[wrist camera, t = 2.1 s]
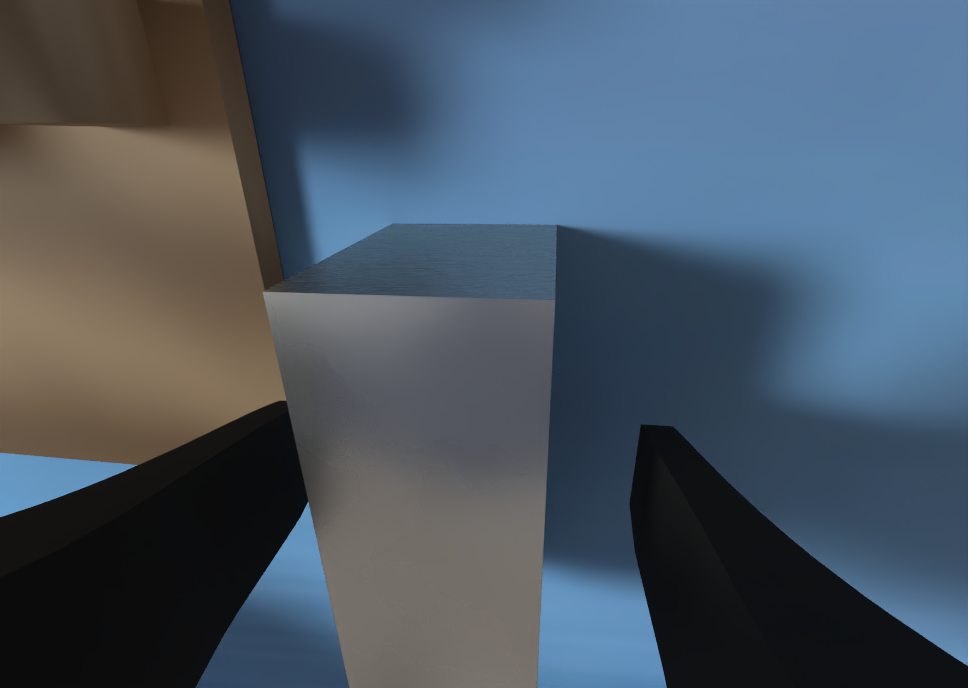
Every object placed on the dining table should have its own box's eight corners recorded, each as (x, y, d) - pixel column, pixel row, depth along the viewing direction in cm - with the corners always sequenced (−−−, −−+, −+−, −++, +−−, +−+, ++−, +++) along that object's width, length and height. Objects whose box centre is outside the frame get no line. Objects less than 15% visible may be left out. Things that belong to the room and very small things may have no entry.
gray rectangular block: (542, 544, 13) (533, 753, 9) (423, 532, 14) (357, 725, 9) (557, 223, 10) (555, 300, 5) (394, 222, 10) (263, 291, 6)
